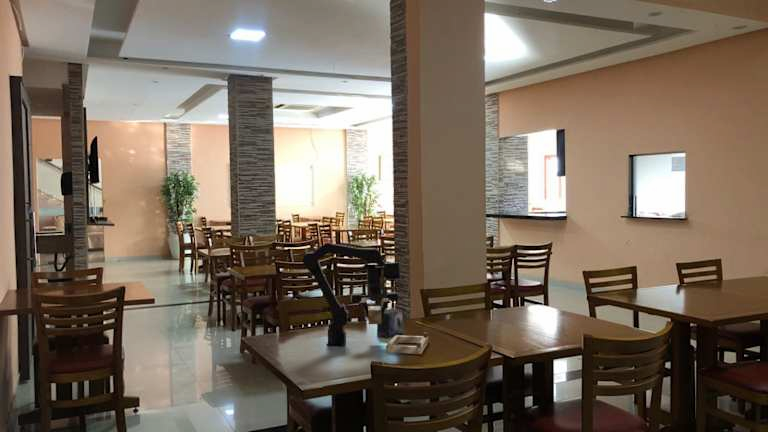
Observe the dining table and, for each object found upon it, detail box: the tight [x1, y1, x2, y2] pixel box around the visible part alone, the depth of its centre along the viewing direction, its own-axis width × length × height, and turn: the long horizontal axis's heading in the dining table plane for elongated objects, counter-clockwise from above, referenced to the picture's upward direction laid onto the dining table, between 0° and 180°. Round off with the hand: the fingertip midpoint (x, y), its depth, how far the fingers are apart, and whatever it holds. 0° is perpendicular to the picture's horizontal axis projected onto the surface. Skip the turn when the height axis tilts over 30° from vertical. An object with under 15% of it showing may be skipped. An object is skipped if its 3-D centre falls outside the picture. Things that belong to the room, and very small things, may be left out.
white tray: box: [385, 331, 429, 355], centre depth 242 cm, size 14×19×4 cm
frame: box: [367, 305, 381, 325], centre depth 249 cm, size 5×12×5 cm, turn 2°
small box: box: [376, 308, 403, 339], centre depth 263 cm, size 11×6×10 cm, turn 143°
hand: (374, 318), depth 249 cm, fingers closed on frame, 5 cm apart
